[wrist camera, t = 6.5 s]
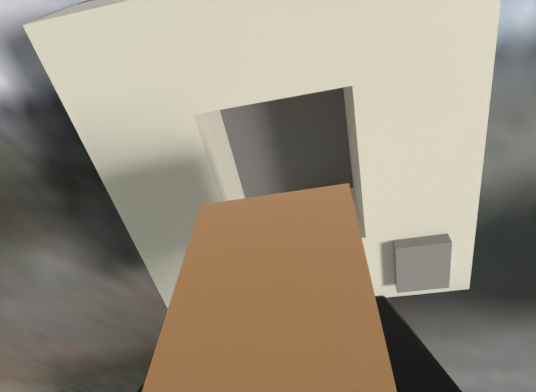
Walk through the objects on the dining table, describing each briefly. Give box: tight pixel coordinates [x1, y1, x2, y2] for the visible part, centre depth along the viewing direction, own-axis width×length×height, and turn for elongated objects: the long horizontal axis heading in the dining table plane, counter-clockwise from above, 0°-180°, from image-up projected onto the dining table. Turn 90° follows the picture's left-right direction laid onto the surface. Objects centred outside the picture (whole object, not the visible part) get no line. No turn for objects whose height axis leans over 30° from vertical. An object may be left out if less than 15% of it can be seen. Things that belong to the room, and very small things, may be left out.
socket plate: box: [22, 0, 501, 308], centre depth 16 cm, size 13×13×5 cm
